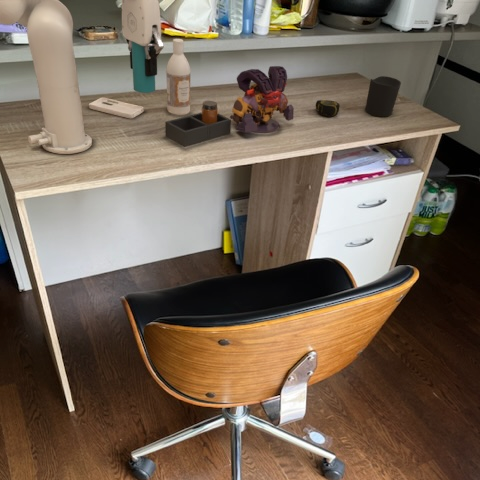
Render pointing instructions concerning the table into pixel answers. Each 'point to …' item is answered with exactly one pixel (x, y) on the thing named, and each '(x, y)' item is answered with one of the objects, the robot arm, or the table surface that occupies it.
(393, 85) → the pen holder
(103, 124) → the table surface
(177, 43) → the bath foam
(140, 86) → the water bottle
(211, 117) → the spice jar
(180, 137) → the cup holder
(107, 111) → the phone case
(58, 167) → the table surface
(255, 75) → the figurine
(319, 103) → the tape measure
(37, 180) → the table surface
